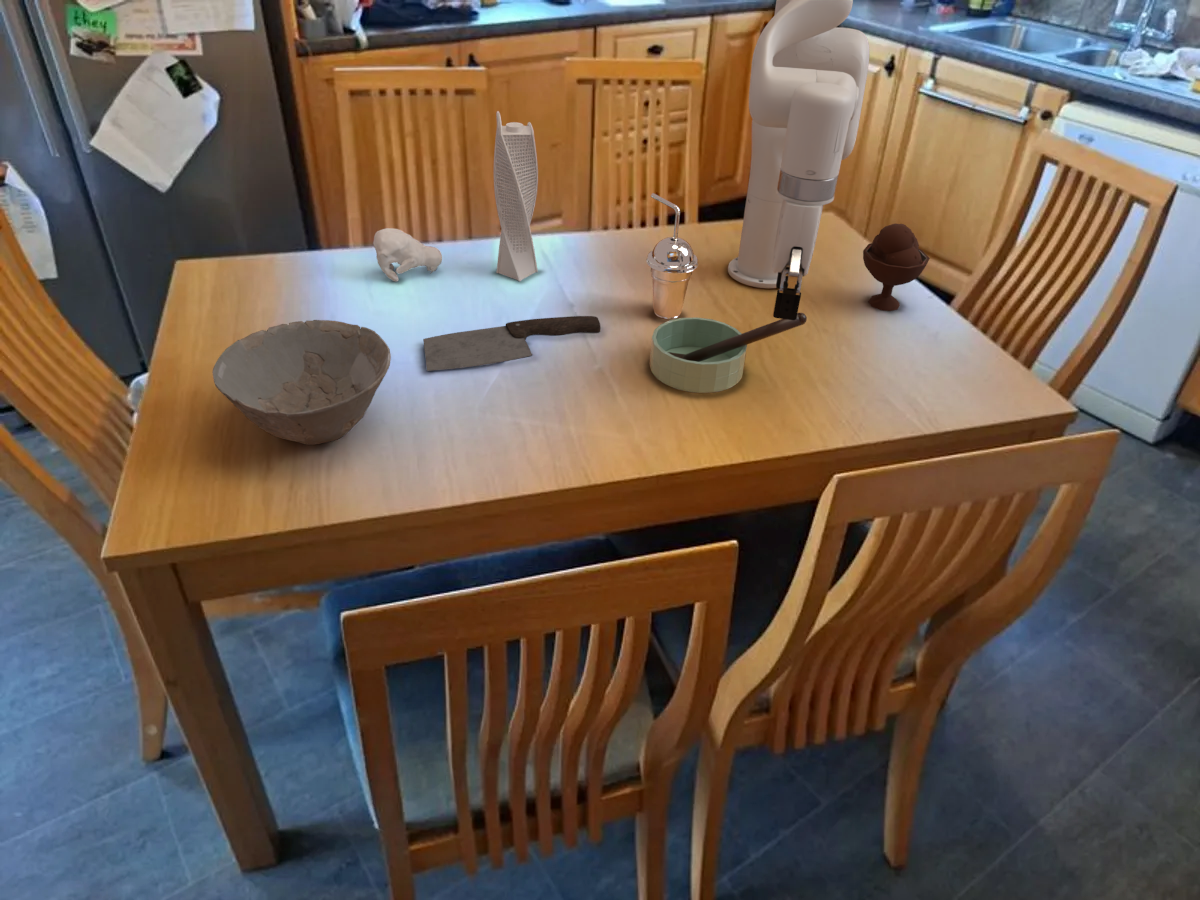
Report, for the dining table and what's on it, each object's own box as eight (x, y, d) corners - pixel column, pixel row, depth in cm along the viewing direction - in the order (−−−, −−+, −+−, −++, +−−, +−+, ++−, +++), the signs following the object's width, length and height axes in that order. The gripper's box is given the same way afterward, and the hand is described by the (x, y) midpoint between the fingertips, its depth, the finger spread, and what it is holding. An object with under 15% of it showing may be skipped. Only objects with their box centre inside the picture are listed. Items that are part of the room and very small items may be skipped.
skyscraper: (486, 272, 161) (480, 114, 145) (512, 259, 166) (509, 105, 150) (520, 285, 158) (518, 124, 141) (545, 271, 163) (546, 114, 146)
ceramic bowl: (238, 492, 109) (220, 425, 103) (221, 396, 125) (206, 333, 120) (416, 455, 116) (410, 391, 110) (378, 369, 133) (371, 309, 127)
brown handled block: (657, 368, 135) (663, 301, 129) (660, 356, 138) (666, 290, 132) (793, 387, 133) (807, 320, 126) (794, 375, 136) (807, 308, 129)
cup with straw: (656, 331, 146) (666, 214, 134) (632, 307, 153) (640, 193, 141) (701, 323, 149) (715, 208, 137) (675, 299, 156) (687, 188, 144)
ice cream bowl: (918, 321, 153) (941, 239, 144) (852, 313, 154) (871, 231, 145) (913, 294, 161) (935, 215, 152) (851, 287, 163) (869, 208, 154)
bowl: (657, 342, 143) (659, 312, 140) (745, 354, 141) (750, 324, 138) (642, 388, 132) (645, 356, 129) (738, 402, 130) (743, 370, 127)
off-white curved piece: (370, 223, 155) (439, 222, 159) (371, 268, 160) (437, 267, 164) (376, 237, 150) (446, 236, 155) (376, 283, 155) (444, 281, 159)
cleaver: (591, 319, 148) (592, 307, 147) (612, 347, 141) (613, 335, 140) (415, 345, 139) (414, 333, 138) (428, 376, 132) (427, 364, 131)
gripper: (780, 162, 124) (762, 275, 134) (775, 204, 110) (755, 327, 120) (834, 167, 123) (812, 281, 133) (836, 210, 109) (811, 334, 119)
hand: (785, 303), depth 127 cm, fingers open, 9 cm apart
